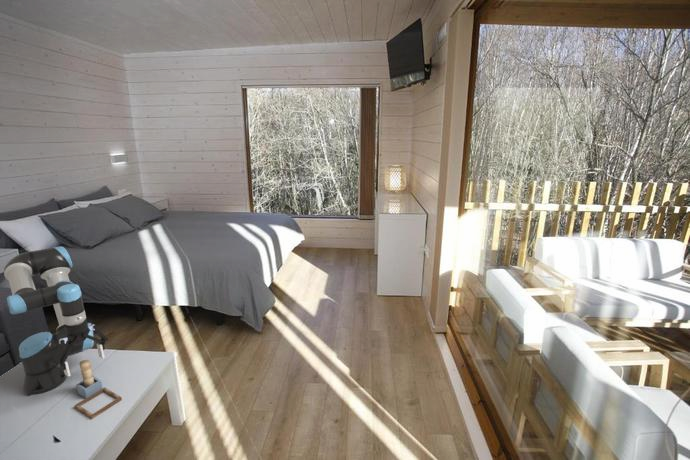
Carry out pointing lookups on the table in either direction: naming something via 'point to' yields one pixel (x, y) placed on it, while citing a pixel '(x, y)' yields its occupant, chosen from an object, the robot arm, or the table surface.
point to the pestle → (86, 373)
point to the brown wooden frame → (117, 399)
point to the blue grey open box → (89, 388)
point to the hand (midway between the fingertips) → (85, 366)
